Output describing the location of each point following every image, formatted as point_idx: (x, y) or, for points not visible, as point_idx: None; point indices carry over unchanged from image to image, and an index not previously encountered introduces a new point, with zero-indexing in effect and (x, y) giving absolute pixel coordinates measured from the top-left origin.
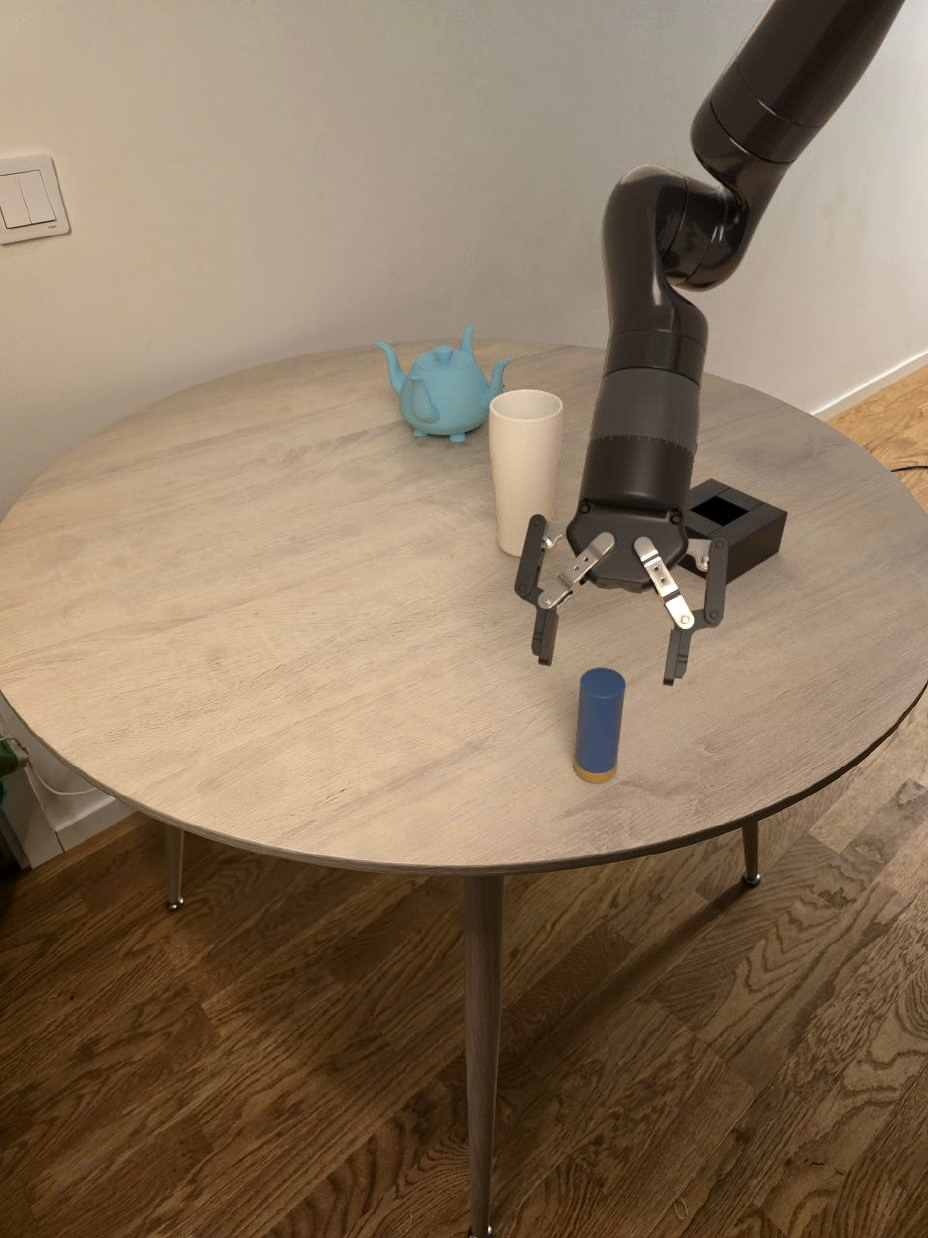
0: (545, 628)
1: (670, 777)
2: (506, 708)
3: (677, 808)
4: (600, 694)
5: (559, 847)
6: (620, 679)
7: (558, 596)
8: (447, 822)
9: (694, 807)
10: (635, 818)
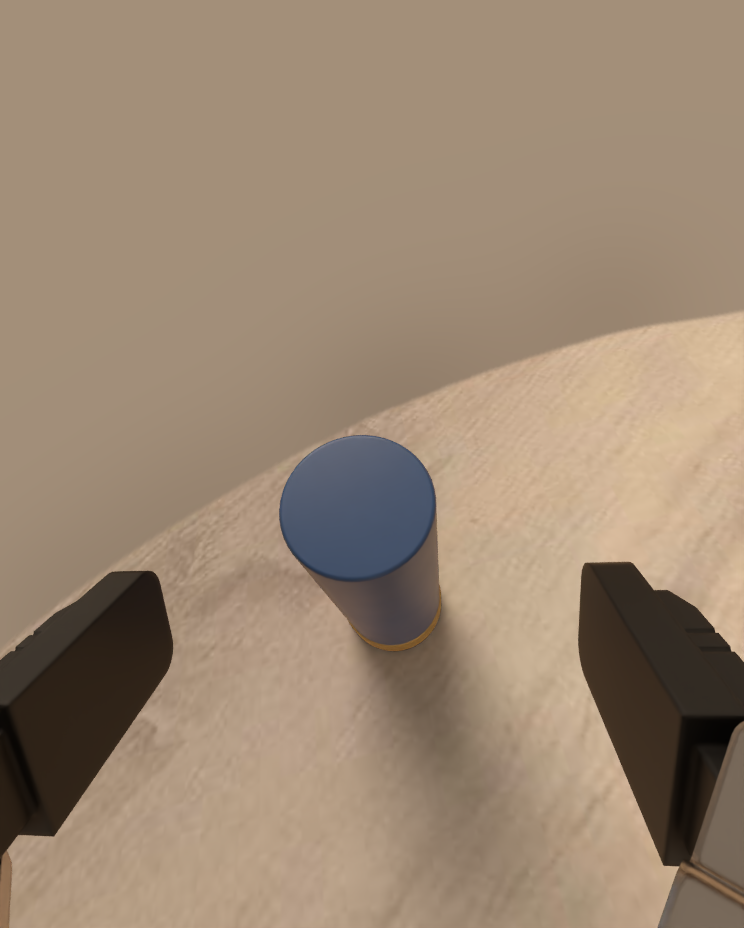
0: (681, 641)
1: (236, 618)
2: None
3: (227, 542)
4: (355, 442)
5: (423, 411)
6: (296, 529)
7: (741, 804)
8: (632, 403)
9: (196, 553)
10: None
